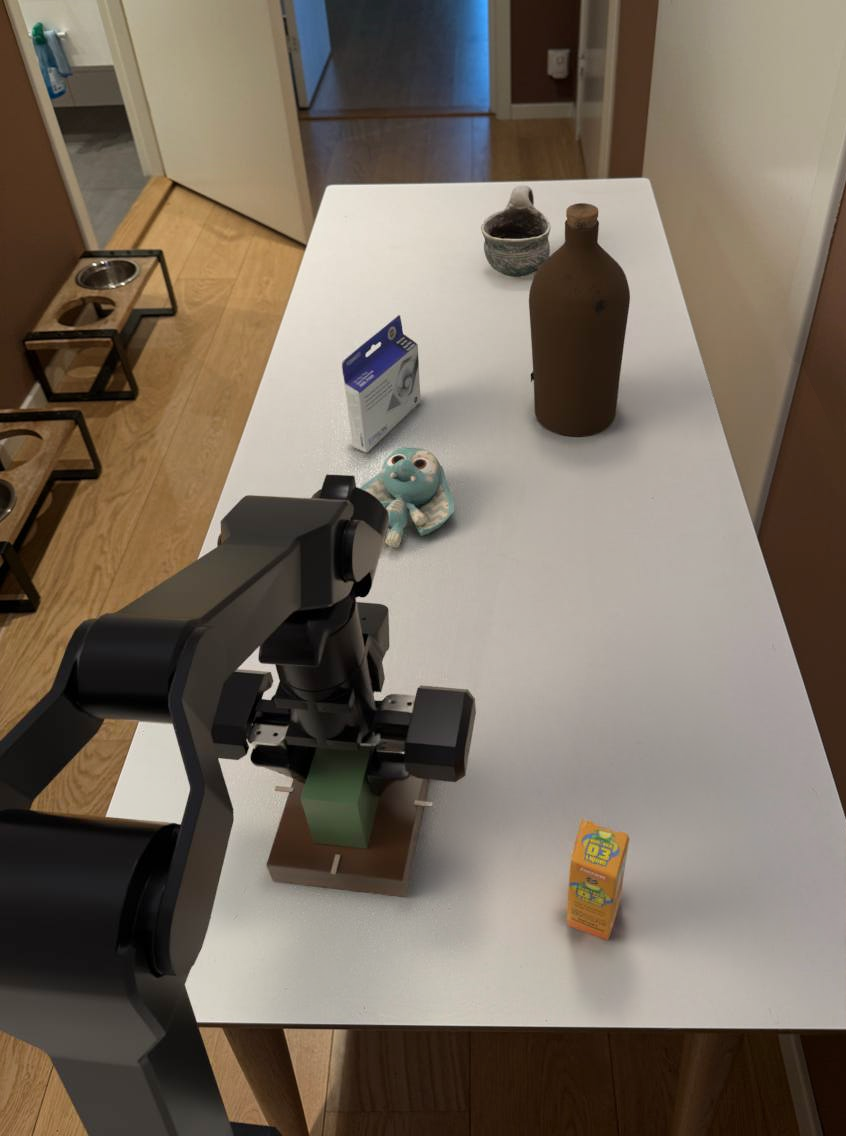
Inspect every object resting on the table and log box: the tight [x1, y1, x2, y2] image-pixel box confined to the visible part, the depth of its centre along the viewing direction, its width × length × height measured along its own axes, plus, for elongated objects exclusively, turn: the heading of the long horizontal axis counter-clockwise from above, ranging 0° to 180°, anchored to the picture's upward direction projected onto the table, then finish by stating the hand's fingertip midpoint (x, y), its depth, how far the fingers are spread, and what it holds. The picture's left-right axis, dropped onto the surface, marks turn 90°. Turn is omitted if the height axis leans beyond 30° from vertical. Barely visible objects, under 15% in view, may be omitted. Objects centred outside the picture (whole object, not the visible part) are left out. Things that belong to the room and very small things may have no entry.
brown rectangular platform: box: [266, 775, 434, 898], centre depth 73 cm, size 12×12×3 cm
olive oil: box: [528, 202, 631, 437], centre depth 103 cm, size 11×11×25 cm
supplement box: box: [566, 818, 630, 941], centre depth 64 cm, size 3×3×10 cm
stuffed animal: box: [359, 446, 455, 548], centre depth 97 cm, size 11×7×12 cm
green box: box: [301, 746, 380, 849], centre depth 70 cm, size 8×4×6 cm, turn 172°
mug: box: [480, 185, 552, 278], centre depth 135 cm, size 10×12×10 cm
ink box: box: [341, 314, 421, 454], centre depth 107 cm, size 12×2×12 cm, turn 149°
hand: (351, 787), depth 71 cm, fingers closed on green box, 4 cm apart
